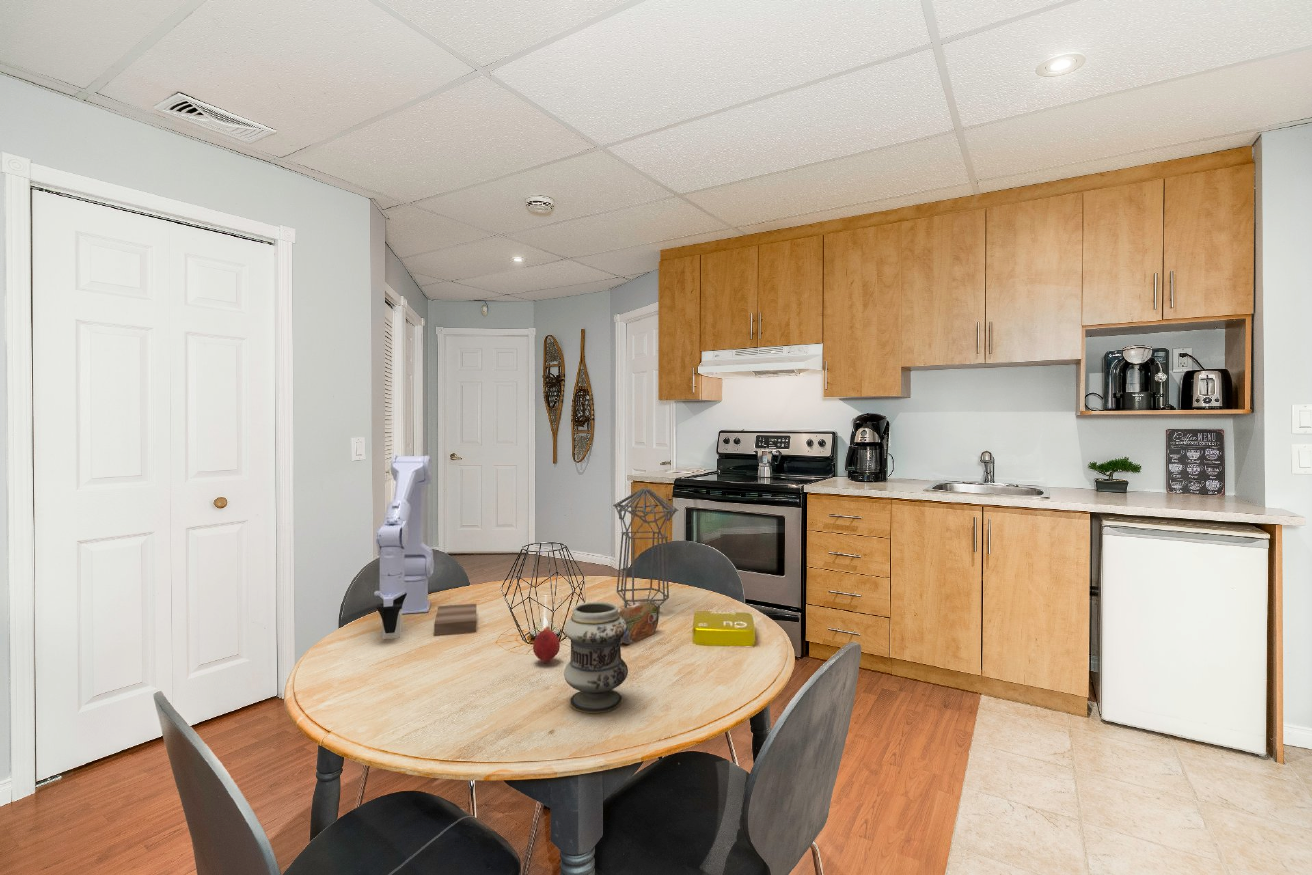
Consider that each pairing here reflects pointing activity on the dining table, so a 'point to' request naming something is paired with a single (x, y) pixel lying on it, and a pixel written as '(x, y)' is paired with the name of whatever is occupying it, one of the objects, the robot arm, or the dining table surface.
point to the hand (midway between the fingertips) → (392, 627)
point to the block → (397, 632)
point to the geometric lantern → (669, 511)
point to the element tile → (723, 629)
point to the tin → (639, 621)
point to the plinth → (455, 619)
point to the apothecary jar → (595, 656)
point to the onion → (546, 645)
